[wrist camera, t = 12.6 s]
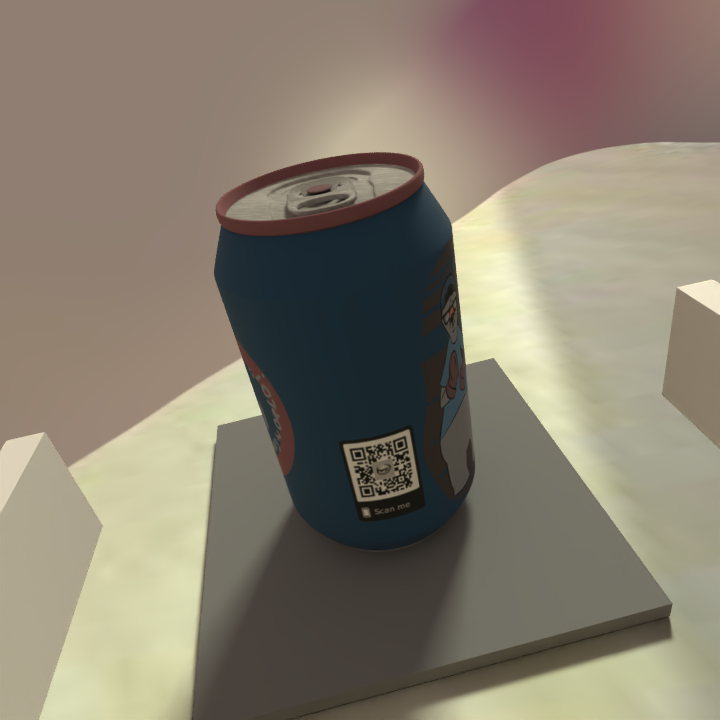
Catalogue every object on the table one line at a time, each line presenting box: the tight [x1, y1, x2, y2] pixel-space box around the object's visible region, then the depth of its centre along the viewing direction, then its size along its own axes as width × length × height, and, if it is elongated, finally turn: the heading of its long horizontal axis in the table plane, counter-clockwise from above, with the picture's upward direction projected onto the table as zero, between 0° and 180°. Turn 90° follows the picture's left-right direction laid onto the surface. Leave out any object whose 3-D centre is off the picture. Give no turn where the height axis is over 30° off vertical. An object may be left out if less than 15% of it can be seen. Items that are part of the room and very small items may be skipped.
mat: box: [192, 358, 672, 720], centre depth 22 cm, size 14×14×1 cm
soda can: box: [214, 152, 475, 552], centre depth 18 cm, size 7×7×12 cm
